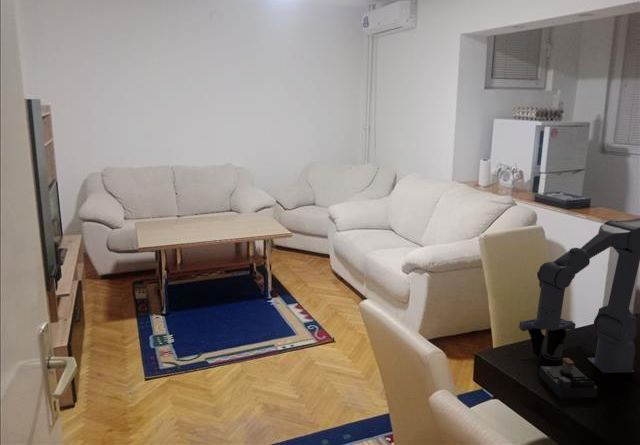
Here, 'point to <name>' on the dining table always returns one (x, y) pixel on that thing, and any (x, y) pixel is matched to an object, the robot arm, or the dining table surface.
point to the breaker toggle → (567, 366)
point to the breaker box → (568, 383)
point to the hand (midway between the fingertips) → (543, 353)
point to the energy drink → (558, 351)
